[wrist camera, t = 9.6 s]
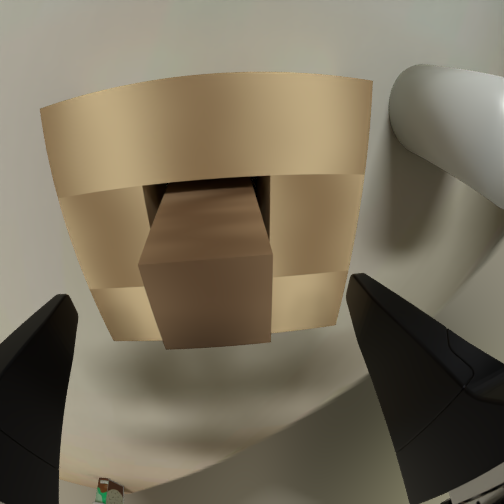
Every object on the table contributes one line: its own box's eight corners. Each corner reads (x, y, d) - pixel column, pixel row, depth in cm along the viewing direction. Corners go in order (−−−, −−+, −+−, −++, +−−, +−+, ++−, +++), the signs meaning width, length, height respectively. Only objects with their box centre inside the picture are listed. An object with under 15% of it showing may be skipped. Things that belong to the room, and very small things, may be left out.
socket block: (333, 77, 12) (372, 81, 9) (316, 279, 19) (335, 324, 15) (82, 97, 11) (39, 108, 8) (127, 292, 18) (113, 340, 14)
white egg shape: (462, 77, 12) (554, 103, 6) (453, 159, 15) (533, 210, 9) (391, 54, 11) (492, 62, 5) (384, 151, 14) (470, 209, 8)
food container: (86, 473, 49) (83, 505, 41) (106, 477, 49) (104, 510, 41) (107, 484, 56) (106, 512, 48) (126, 487, 56) (125, 516, 48)
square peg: (245, 161, 14) (272, 254, 7) (247, 223, 16) (270, 342, 9) (175, 167, 14) (137, 265, 7) (183, 228, 16) (165, 349, 9)
